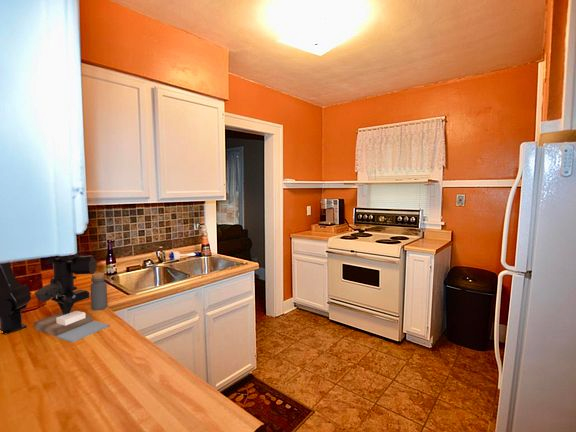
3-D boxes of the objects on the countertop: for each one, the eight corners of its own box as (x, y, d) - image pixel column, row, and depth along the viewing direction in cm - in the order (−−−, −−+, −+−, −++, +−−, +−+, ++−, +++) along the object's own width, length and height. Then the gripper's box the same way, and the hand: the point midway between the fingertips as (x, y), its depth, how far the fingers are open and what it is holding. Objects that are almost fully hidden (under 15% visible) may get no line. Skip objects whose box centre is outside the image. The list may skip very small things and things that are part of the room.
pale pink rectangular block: (56, 323, 105) (56, 317, 105) (76, 315, 112) (76, 310, 112) (65, 325, 104) (65, 320, 103) (85, 317, 110) (85, 312, 110)
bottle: (110, 305, 129) (109, 272, 128) (98, 311, 124) (97, 276, 122) (100, 304, 131) (98, 271, 130) (88, 309, 125) (86, 275, 124)
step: (34, 329, 107) (34, 321, 106) (69, 316, 118) (69, 309, 117) (58, 336, 102) (57, 328, 101) (92, 322, 113) (92, 315, 112)
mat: (56, 337, 101) (56, 335, 101) (94, 322, 113) (93, 320, 113) (72, 342, 98) (72, 340, 98) (109, 326, 110) (109, 324, 110)
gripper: (21, 277, 104) (24, 320, 105) (55, 284, 97) (58, 329, 98) (56, 269, 114) (59, 309, 115) (89, 275, 107) (91, 316, 108)
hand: (66, 315), depth 109 cm, fingers closed
